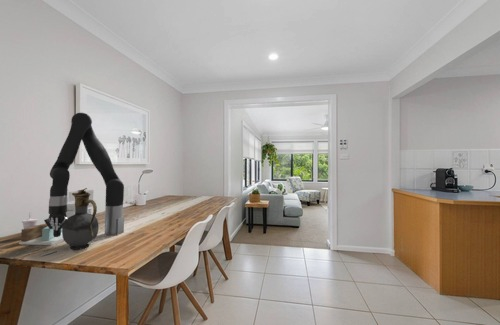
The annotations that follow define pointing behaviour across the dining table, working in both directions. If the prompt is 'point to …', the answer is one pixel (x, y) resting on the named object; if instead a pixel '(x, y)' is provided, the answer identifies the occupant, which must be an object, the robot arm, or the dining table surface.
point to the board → (45, 242)
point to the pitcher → (81, 223)
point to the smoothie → (29, 222)
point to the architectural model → (72, 203)
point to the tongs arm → (47, 233)
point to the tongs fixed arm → (32, 232)
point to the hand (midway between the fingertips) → (56, 236)
